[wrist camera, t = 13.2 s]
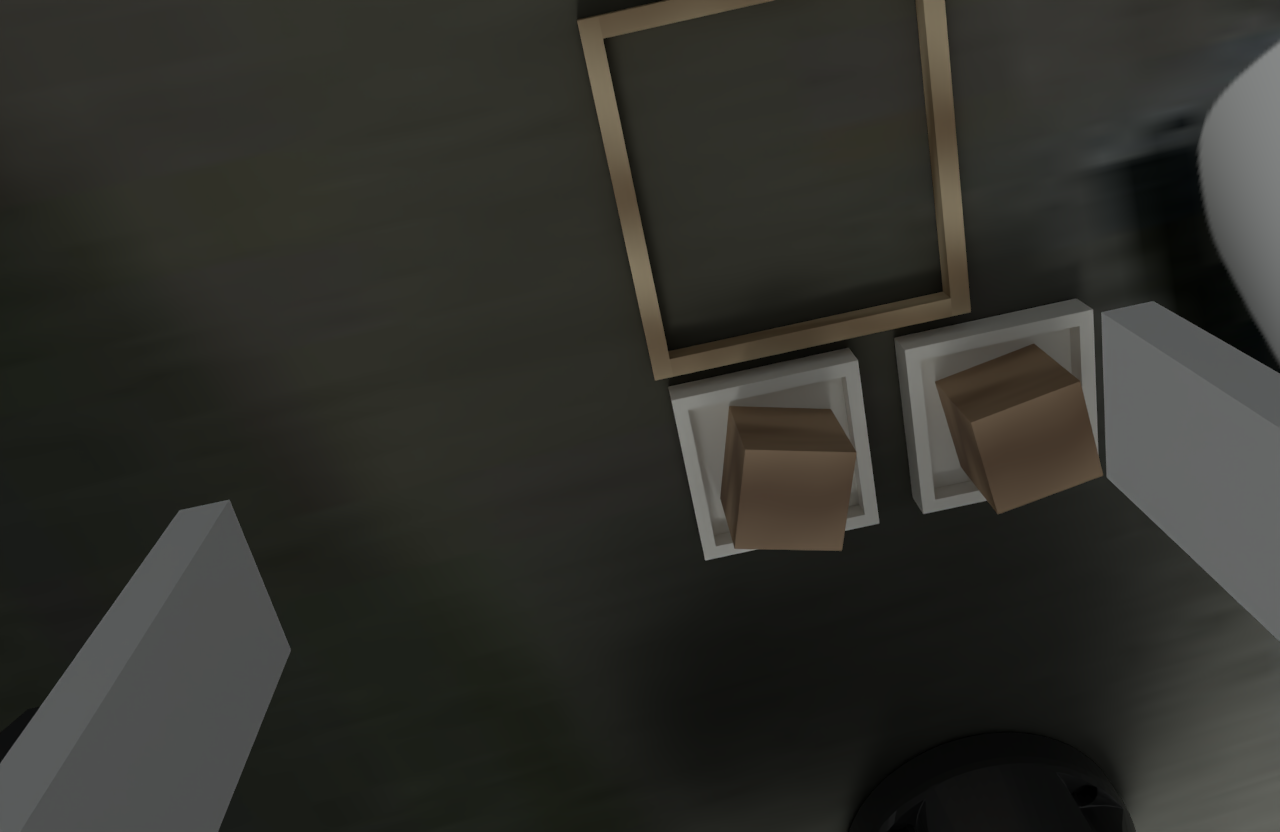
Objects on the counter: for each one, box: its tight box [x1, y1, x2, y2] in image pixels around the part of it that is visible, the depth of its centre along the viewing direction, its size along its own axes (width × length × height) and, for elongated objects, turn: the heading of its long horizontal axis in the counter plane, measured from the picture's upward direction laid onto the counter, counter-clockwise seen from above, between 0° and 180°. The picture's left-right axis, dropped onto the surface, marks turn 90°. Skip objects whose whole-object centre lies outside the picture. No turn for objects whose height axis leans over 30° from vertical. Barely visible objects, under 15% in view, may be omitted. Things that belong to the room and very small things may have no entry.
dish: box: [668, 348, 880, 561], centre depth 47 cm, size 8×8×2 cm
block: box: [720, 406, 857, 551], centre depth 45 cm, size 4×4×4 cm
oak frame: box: [577, 0, 971, 381], centre depth 42 cm, size 15×14×1 cm
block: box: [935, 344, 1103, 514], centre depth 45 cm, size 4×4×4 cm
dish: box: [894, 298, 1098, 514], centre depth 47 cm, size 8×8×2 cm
